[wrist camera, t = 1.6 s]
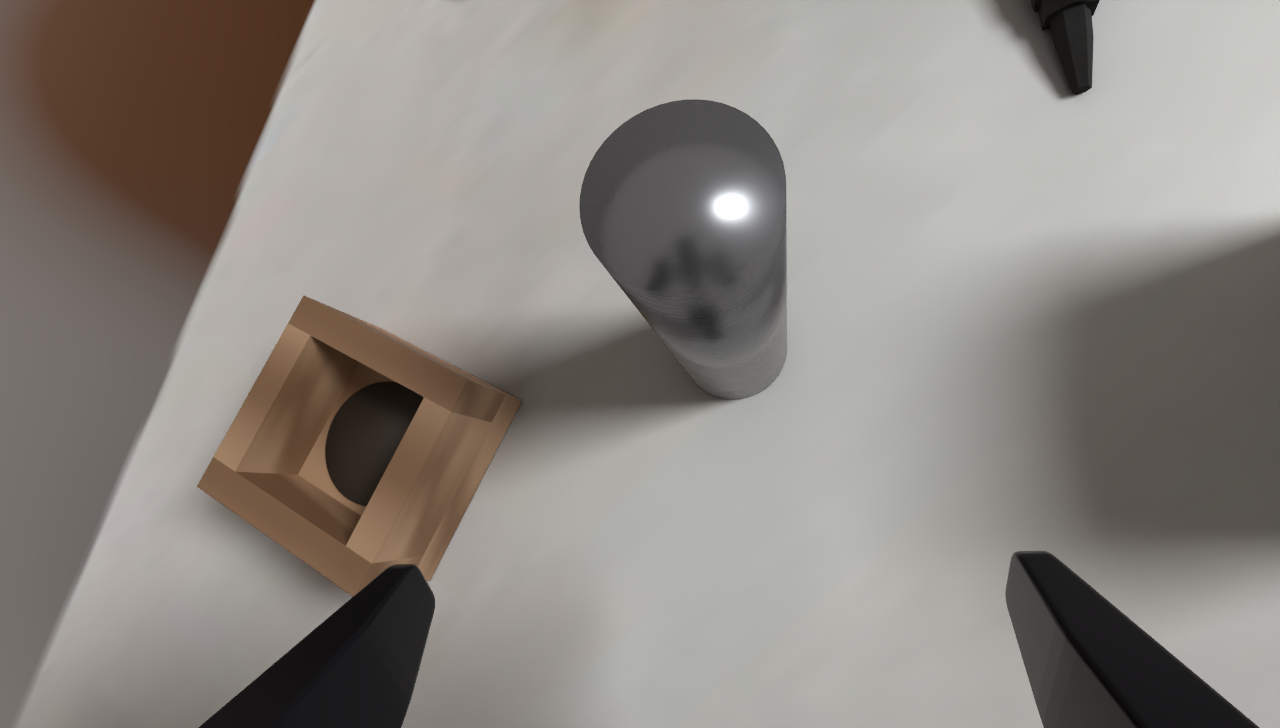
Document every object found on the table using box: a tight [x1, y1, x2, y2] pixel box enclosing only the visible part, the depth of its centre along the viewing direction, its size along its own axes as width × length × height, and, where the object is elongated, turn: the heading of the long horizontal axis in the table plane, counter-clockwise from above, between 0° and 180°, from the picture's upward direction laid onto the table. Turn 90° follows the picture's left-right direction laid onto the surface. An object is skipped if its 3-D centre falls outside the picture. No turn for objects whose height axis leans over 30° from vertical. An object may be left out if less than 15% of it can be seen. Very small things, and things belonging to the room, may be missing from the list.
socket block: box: [197, 296, 522, 596], centre depth 24 cm, size 8×8×4 cm
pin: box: [580, 100, 787, 399], centre depth 18 cm, size 4×4×12 cm
